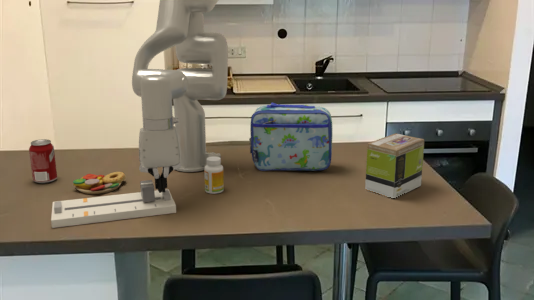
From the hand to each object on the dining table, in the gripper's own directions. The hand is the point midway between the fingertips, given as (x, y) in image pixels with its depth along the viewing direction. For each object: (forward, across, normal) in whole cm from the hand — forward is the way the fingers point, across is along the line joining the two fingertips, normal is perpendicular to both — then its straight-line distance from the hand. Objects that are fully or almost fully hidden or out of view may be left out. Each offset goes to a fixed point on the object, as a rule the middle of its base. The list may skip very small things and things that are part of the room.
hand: (161, 190), depth 142 cm
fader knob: (+2, +4, 0) cm, 4 cm away
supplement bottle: (+4, -16, -6) cm, 17 cm away
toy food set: (+5, +15, -19) cm, 25 cm away
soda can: (+4, +30, -29) cm, 42 cm away
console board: (+4, +12, 0) cm, 13 cm away
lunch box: (+4, -44, -18) cm, 48 cm away
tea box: (+4, -66, +8) cm, 66 cm away
